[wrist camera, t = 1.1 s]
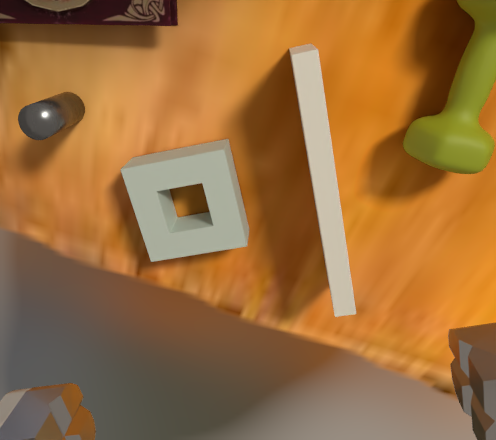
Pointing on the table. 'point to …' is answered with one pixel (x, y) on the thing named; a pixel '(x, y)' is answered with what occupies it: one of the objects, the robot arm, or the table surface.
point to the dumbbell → (462, 104)
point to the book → (90, 12)
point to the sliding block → (162, 208)
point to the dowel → (51, 115)
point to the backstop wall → (323, 175)
